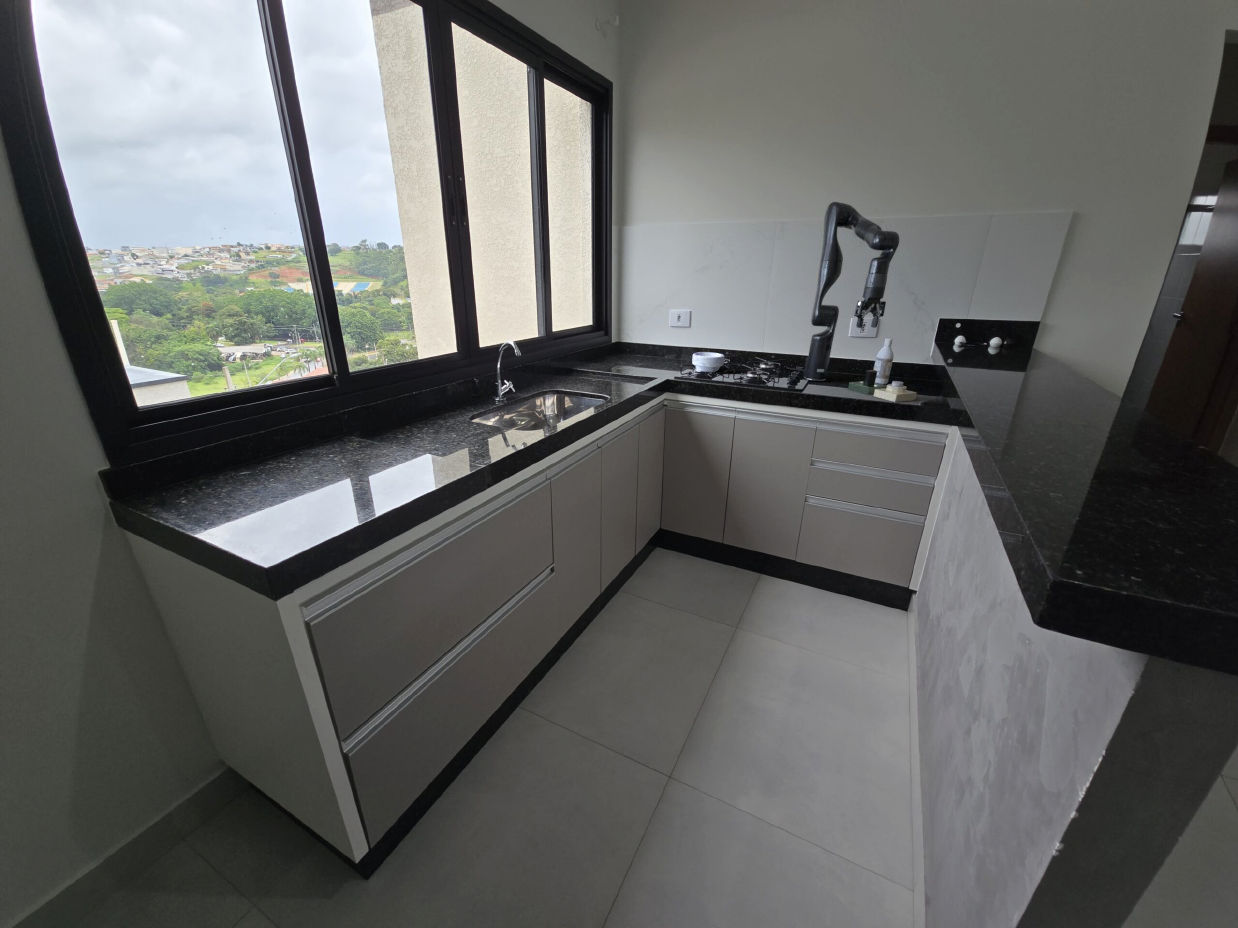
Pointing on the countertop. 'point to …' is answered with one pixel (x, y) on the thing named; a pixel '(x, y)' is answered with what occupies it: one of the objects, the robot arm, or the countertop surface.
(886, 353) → the bath foam
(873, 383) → the dark brown cylinder
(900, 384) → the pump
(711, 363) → the paper bowls
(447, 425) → the countertop surface
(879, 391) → the cream push button box
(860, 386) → the tap panel
